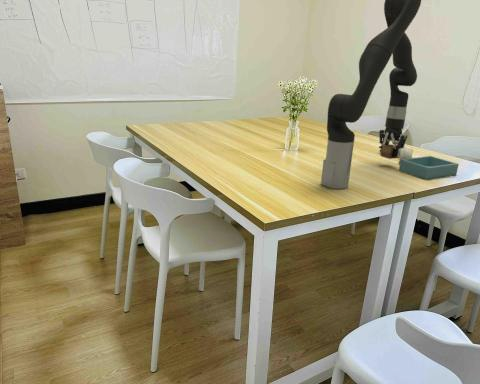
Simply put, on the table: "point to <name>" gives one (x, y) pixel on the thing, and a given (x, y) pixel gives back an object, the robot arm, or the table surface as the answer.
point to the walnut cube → (387, 151)
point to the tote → (428, 167)
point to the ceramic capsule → (405, 153)
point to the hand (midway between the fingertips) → (389, 155)
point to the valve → (398, 152)
